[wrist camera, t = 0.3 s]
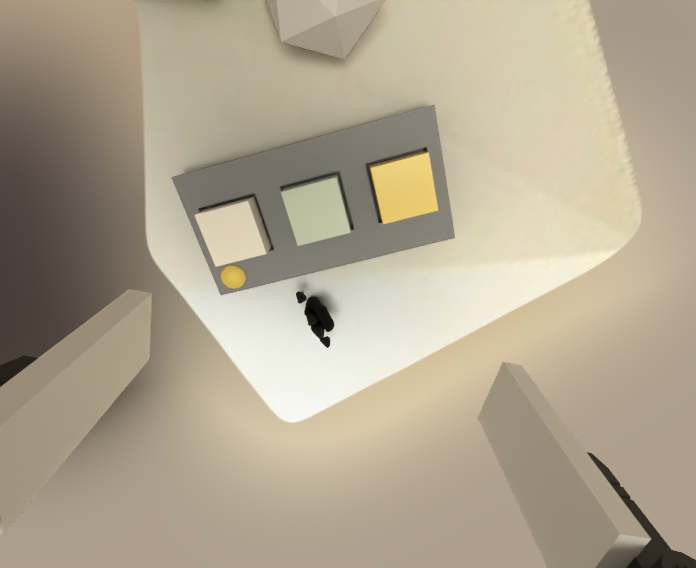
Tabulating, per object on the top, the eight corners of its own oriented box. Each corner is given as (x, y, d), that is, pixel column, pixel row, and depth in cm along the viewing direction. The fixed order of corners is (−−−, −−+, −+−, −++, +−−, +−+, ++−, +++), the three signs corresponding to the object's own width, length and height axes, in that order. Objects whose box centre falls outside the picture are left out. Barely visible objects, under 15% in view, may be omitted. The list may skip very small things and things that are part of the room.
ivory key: (204, 209, 36) (194, 215, 33) (254, 196, 35) (247, 200, 33) (223, 258, 38) (215, 266, 35) (271, 246, 37) (266, 253, 35)
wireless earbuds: (296, 283, 41) (290, 303, 37) (316, 274, 41) (312, 292, 36) (325, 334, 44) (322, 358, 39) (344, 325, 43) (344, 349, 39)
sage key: (284, 188, 35) (280, 192, 33) (336, 174, 35) (336, 177, 32) (300, 238, 37) (297, 246, 35) (350, 226, 36) (350, 232, 34)
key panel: (184, 174, 37) (170, 177, 34) (427, 106, 35) (434, 104, 32) (229, 284, 41) (220, 296, 38) (447, 230, 39) (455, 238, 36)
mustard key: (368, 165, 34) (370, 168, 32) (423, 151, 34) (428, 152, 32) (380, 218, 36) (383, 224, 34) (432, 205, 36) (438, 210, 34)
